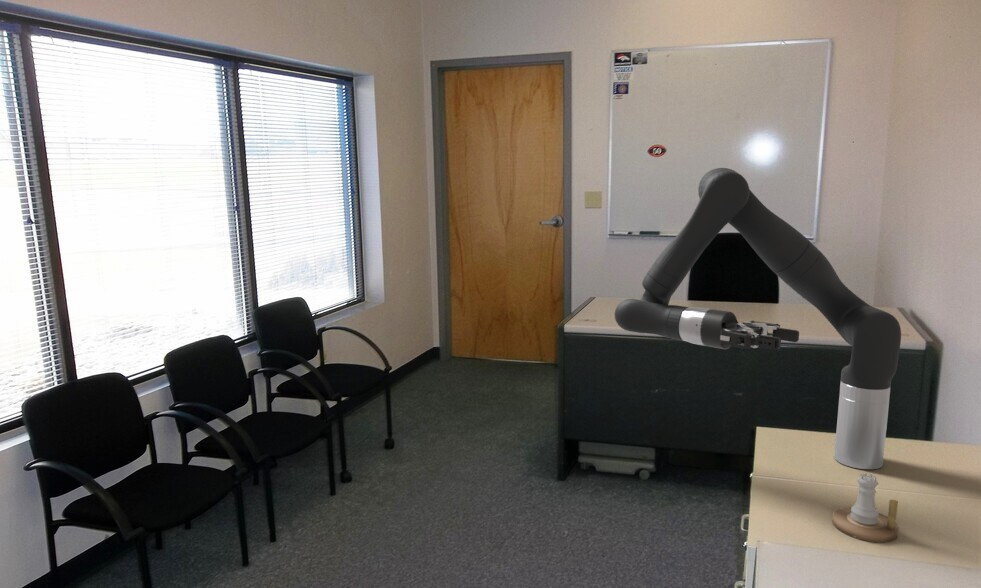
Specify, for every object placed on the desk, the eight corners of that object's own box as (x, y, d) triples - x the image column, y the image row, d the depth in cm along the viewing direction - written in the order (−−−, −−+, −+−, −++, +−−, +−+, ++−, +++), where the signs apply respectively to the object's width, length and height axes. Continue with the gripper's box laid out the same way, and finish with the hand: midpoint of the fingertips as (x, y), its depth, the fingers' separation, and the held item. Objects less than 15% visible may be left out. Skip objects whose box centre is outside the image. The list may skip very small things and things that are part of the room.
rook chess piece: (874, 515, 121) (878, 472, 120) (882, 527, 117) (886, 483, 115) (846, 512, 122) (850, 469, 121) (853, 524, 118) (857, 480, 117)
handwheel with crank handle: (843, 508, 127) (846, 476, 126) (905, 527, 120) (908, 493, 119) (823, 527, 120) (826, 493, 118) (888, 548, 113) (891, 513, 112)
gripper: (691, 313, 133) (775, 326, 122) (725, 304, 144) (805, 315, 132) (689, 351, 135) (772, 367, 123) (723, 339, 145) (802, 353, 134)
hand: (789, 340), depth 128 cm, fingers open, 8 cm apart
